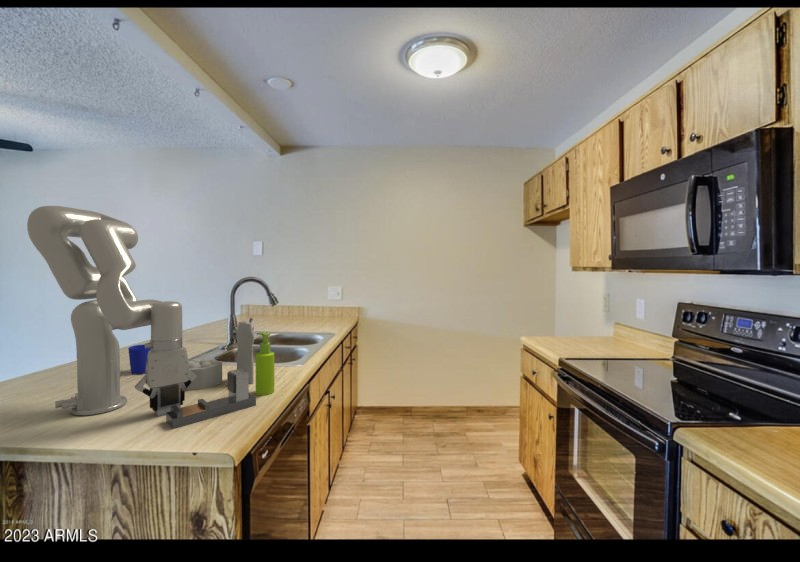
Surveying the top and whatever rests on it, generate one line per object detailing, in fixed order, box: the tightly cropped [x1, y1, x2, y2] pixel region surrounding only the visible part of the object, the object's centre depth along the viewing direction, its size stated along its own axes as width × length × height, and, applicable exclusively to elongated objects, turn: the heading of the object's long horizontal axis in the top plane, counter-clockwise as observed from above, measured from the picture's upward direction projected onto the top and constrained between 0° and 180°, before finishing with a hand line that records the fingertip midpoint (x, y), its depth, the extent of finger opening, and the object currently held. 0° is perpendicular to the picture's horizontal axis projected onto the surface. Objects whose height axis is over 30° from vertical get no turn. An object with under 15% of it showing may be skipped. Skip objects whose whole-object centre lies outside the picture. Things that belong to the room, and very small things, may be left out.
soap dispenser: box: [255, 331, 275, 396], centre depth 118 cm, size 6×7×20 cm
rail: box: [165, 368, 257, 430], centre depth 101 cm, size 22×6×10 cm, turn 137°
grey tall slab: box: [235, 320, 255, 385], centre depth 128 cm, size 11×4×22 cm, turn 55°
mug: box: [127, 343, 151, 375], centre depth 137 cm, size 8×12×10 cm
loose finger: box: [154, 384, 182, 417], centre depth 101 cm, size 4×6×8 cm
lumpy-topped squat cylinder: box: [185, 357, 223, 392], centre depth 124 cm, size 10×13×9 cm
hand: (167, 406), depth 101 cm, fingers closed on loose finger, 5 cm apart
